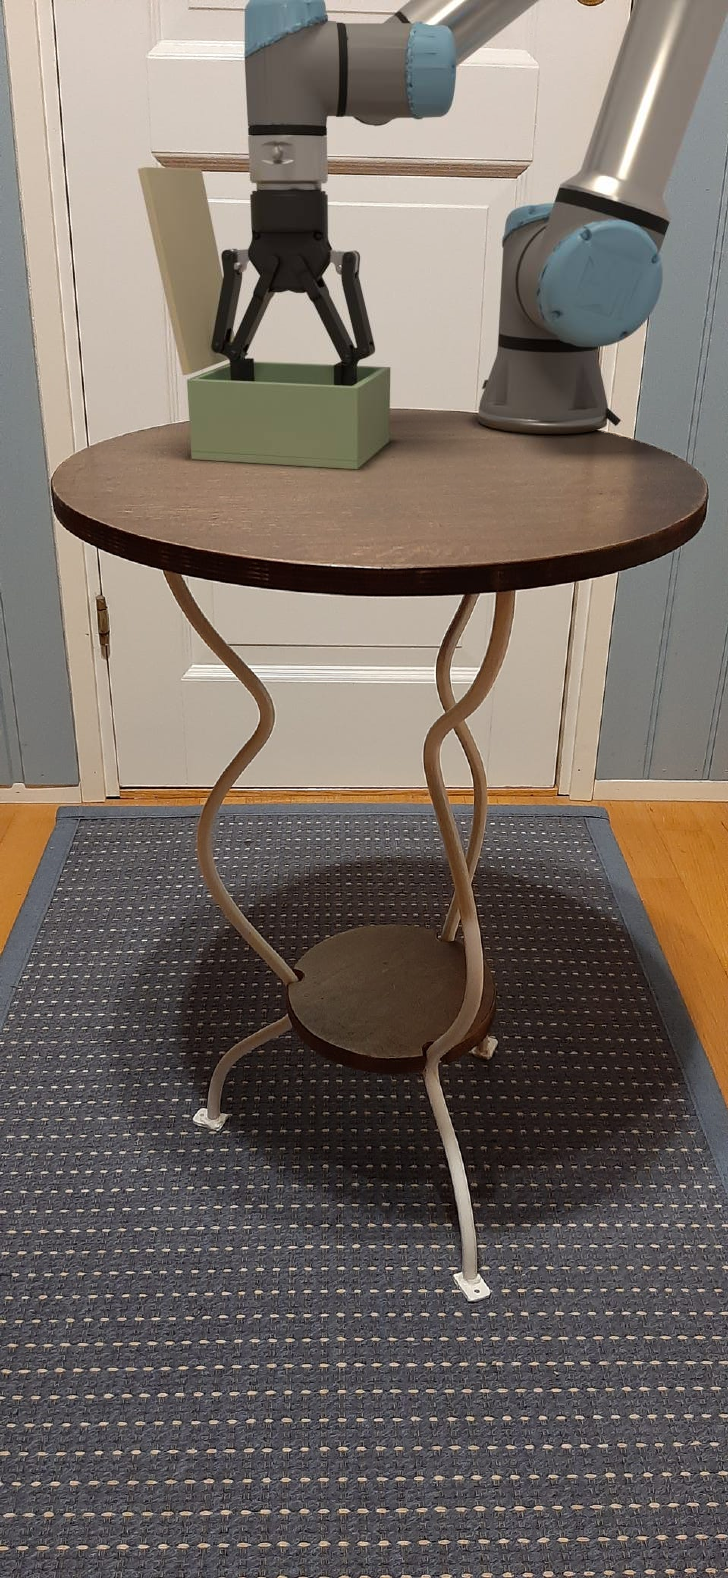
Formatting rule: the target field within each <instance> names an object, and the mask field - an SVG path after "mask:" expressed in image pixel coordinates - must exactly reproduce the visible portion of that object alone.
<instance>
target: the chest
mask: <svg viewBox="0 0 728 1578" xmlns="http://www.w3.org/2000/svg"><path fill="white" fill-rule="evenodd" d="M334 365H335V364H328V363H327V364H323V363H302V362H301V363H299V362H276V361H256V360H254V379H255V382H252V381H231V374H230V362H228V363H226V364H223V365H221V366H218V367H216V368H213V369H211V370H208V371H205V372H202V373H200V374H197V375H196V376H192V377H190V378H188V379H186V385H187V386H186V387H187V404H188V420H189V421H188V422H189V433H190V434H189V435H190V436H189V437H190V454H191V460H197V461H198V460H199V461H212V462H213V461H215V462H229V463H230V462H231V463H247V464H263V465H279V466H280V465H281V466H297V467H310V468H311V467H312V468H329V469H346V470H358V469H360V467H362V466H363V465H364V464H365V463H366V462H367V461H369V460H370V459H371V458H372V457H373V456H375V455H376V454H377V453H378V452H379V451H380V450H381V449H383V447H385V446H386V445H387V444H388V443H389V442H390V422H391V421H390V418H391V417H390V415H391V366H374V365H373V366H372V365H371V366H370V365H357V384H355V385H353V386H338V385H334Z"/></svg>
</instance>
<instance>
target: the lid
mask: <svg viewBox="0 0 728 1578" xmlns="http://www.w3.org/2000/svg"><path fill="white" fill-rule="evenodd" d="M137 172H138V177H139V181H140V182H139V183H140V186H141V190H142V195H143V200H144V205H145V208H146V213H147V217H148V223H149V227H150V231H151V236H152V241H153V246H154V250H155V255H156V259H157V264H158V268H159V273H160V278H161V282H162V286H163V291H164V295H165V301H166V306H167V310H168V314H169V319H170V323H171V328H172V333H173V337H174V341H175V346H176V350H177V351H176V352H177V355H178V360H179V364H180V369H181V373H182V376H187V375H191V374H194V373H198V372H200V371H202V370H205V369H207V368H210V367H212V366H215V365H218V364H220V363H222V362H225V361H229V359H228V358H227V357H226V356H225V355H222V354H220V353H215V352H213V350H212V348H211V344H212V338H213V332H214V327H215V321H216V315H217V310H218V304H219V299H220V293H221V287H222V282H223V276H224V275H223V270H222V265H221V260H220V256H219V251H218V245H217V241H216V235H215V231H214V226H213V220H212V215H211V211H210V210H211V209H210V205H209V201H208V195H207V190H206V185H205V181H204V175H203V170H202V168H187V167H185V168H183V167H159V166H158V167H155V166H142V167H138V168H137ZM234 337H235V331H234V330H233V332H232V337H231V342H233V340H234Z"/></svg>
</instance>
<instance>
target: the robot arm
mask: <svg viewBox="0 0 728 1578" xmlns="http://www.w3.org/2000/svg"><path fill="white" fill-rule="evenodd" d="M539 1H540V0H409V1H408V2H406V3H405V4H404V5H403V6H402V7H400V8H399V9H398V10H397V11H396V12H395V13H394V14H393V15H391V16H390V17H389V18H387V19H386V20H384V22H382V23H381V22H380V23H379V22H377V23H374V22H373V23H371V22H367V23H366V22H365V23H364V22H363V23H362V22H361V23H358V22H353V23H351V22H349V23H347V22H346V23H345V22H344V21H343V22H339V21H338V22H337V20H329V14H328V13H327V6H326V1H325V0H249V1H248V3H246V5H245V8H244V54H243V55H244V76H245V93H246V94H245V95H246V96H245V97H246V117H247V148H248V166H249V168H248V169H249V181H250V182H251V184H256V186H255V187H256V190H252V191H251V194H249V200H250V225H251V227H250V228H251V240H250V244H249V245H248V248H243V249H238V248H228V249H224V250H222V252H221V254H220V259H221V268H222V276H223V282H222V287H221V293H220V299H219V304H218V310H217V315H216V321H215V327H214V332H213V338H212V344H211V348H212V350H213V352H215V353H220V354H222V355H225V356H226V357H227V358H228V361H229V363H230V374H231V381H252V382H255V379H254V361H255V358H254V357H253V358H252V357H246V356H248V355H249V352H248V351H249V349H250V346H251V344H252V343H253V340H254V338H255V335H256V334H257V331H258V329H259V326H260V324H261V322H262V320H263V317H264V315H265V313H266V311H267V309H268V307H269V304H270V302H271V300H272V299H273V297H274V296H275V295H276V293H277V294H278V293H280V294H281V293H284V292H288V291H289V292H292V293H295V294H305V293H306V294H307V297H308V299H309V300H310V301H311V302H312V304H313V306H314V308H315V309H316V312H317V314H318V316H319V318H320V320H321V323H322V324H323V326H324V329H325V330H326V333H327V335H328V336H329V338H330V341H331V343H332V345H333V346H334V349H335V351H336V353H337V356H338V357H339V359H340V361H339V362H337V363H335V364H333V365H334V385H338V386H353V385H355V384H357V366H358V364H359V363H360V361H361V360H364V359H367V358H369V357H370V356H372V355H374V354H375V353H376V345H375V342H374V337H373V331H372V327H371V323H370V320H369V315H368V311H367V306H366V302H365V297H364V293H363V288H362V283H361V280H360V265H361V255H360V252H359V251H357V250H350V251H343V250H335V249H333V248H332V245H331V243H330V241H329V195H328V194H326V190H322V184H327V183H328V181H329V179H328V178H329V177H328V171H329V170H328V138H327V137H328V127H327V124H328V123H327V122H328V118H329V117H335V118H344V117H348V118H349V117H352V118H353V119H355V120H356V121H358V122H360V123H361V124H363V125H367V126H374V127H381V126H385V125H386V124H388V123H390V122H391V121H393V120H396V119H413V120H423V119H426V118H427V119H428V118H442V117H444V116H446V115H447V114H448V113H449V112H450V109H451V108H452V105H453V101H454V96H455V90H456V83H457V82H456V79H457V67H458V66H460V65H461V64H462V63H463V62H464V61H466V60H467V59H468V58H470V57H471V56H472V55H473V54H475V53H476V52H478V50H479V49H480V48H483V46H484V45H486V43H488V42H489V41H491V40H492V39H493V38H494V37H495V36H497V35H498V34H500V32H501V31H503V30H504V29H505V28H507V27H508V26H509V25H511V24H512V23H513V22H514V21H515V20H517V19H518V18H519V17H520V16H521V15H523V14H524V13H525V12H527V11H528V10H529V9H530V8H531V7H533V6H534V5H535V4H536V3H538V2H539ZM727 17H728V0H635V1H634V4H633V6H632V9H631V13H630V15H629V18H628V21H627V25H626V29H625V30H624V34H623V37H622V40H621V43H620V47H619V49H618V53H617V56H616V59H615V62H614V65H613V68H612V72H611V75H610V78H609V80H608V84H607V87H606V90H605V93H604V96H603V99H602V102H601V106H600V108H599V112H598V115H597V118H596V121H595V125H594V127H593V130H592V132H591V133H592V134H591V137H590V140H589V142H588V146H587V149H586V152H585V155H584V157H583V158H584V159H583V161H582V165H581V168H580V169H579V171H578V172H577V173H576V174H575V175H573V176H571V177H570V178H568V179H567V180H565V181H563V182H562V183H560V184H559V187H558V189H557V193H556V196H555V199H554V202H547V203H539V204H529V205H523V206H520V207H517V208H515V209H513V210H511V211H510V212H509V214H508V215H507V217H506V219H505V225H504V233H503V236H502V239H501V247H502V262H501V263H502V264H501V279H500V280H501V281H500V298H499V299H500V300H499V315H498V317H499V318H498V333H497V334H498V336H497V350H496V355H495V359H494V362H493V364H492V367H491V370H490V373H489V376H488V378H487V379H484V382H483V384H482V388H481V390H483V391H482V395H481V397H480V401H479V406H478V417H477V421H478V422H479V423H480V424H481V425H483V426H486V427H489V428H492V429H496V430H502V431H507V432H513V433H525V434H540V435H541V434H543V435H545V434H546V435H563V434H564V435H565V434H567V435H568V434H569V435H570V434H581V433H589V432H594V431H597V430H601V429H603V428H605V427H607V425H608V421H609V422H610V423H612V425H614V427H617V426H618V425H619V424H620V423H621V421H622V419H621V418H620V417H618V416H617V414H615V413H614V412H613V411H612V410H611V409H610V408H609V405H608V400H607V393H606V389H605V386H604V385H605V384H604V380H603V376H602V371H601V365H600V361H599V349H600V347H607V346H611V345H615V344H617V343H619V342H621V341H623V340H625V339H627V338H628V337H630V336H632V335H633V334H634V333H635V332H637V331H638V330H639V329H640V328H641V327H642V326H643V324H644V323H645V322H646V321H647V320H648V319H649V317H650V316H651V314H652V313H653V311H654V309H655V307H656V306H657V303H658V301H659V298H660V295H661V294H660V293H661V290H662V286H663V278H664V277H663V274H664V273H663V272H664V271H663V270H664V269H663V263H662V260H661V255H660V251H661V249H662V246H663V243H664V240H665V238H666V234H667V231H668V229H669V226H670V223H671V220H672V219H671V215H670V212H669V210H668V208H667V206H666V205H667V204H666V202H665V198H664V196H665V195H664V194H665V191H666V189H667V186H668V183H669V181H670V177H671V175H672V172H673V169H674V166H675V163H676V161H677V157H678V155H679V152H680V150H681V146H682V144H683V141H684V138H685V135H686V132H687V130H688V127H689V124H690V121H691V118H692V115H693V113H694V110H695V107H696V104H697V101H698V99H699V95H700V92H701V90H702V88H703V84H704V82H705V78H706V75H707V73H708V70H709V68H710V64H711V62H712V59H713V56H714V53H715V52H716V51H715V50H716V48H717V45H718V43H719V39H720V36H721V33H722V30H723V28H724V25H725V22H726V20H727ZM249 262H250V263H251V265H252V266H253V268H254V269H255V271H256V272H257V273H258V275H259V277H258V280H257V282H256V284H255V287H254V288H253V292H252V297H251V299H250V301H249V303H248V305H247V308H246V310H245V313H244V315H243V317H242V319H241V320H240V321H241V322H240V323H239V326H238V328H237V331H236V333H235V334H234V336H235V337H234V340H233V342H231V337H232V332H233V331H234V327H235V321H236V315H237V310H238V303H239V299H240V293H241V288H242V283H243V273H244V272H245V271H247V269H248V263H249ZM331 263H332V264H333V265H334V267H335V271H336V273H337V274H338V275H340V279H341V286H342V290H343V294H344V298H345V302H346V307H347V311H348V316H349V319H350V323H351V328H352V332H353V336H354V341H355V345H354V343H353V340H352V338H351V336H350V334H349V332H348V330H347V327H346V326H345V324H344V322H343V320H342V318H341V316H340V314H339V311H338V310H337V308H336V307H337V306H336V305H335V303H334V301H333V300H332V296H331V295H330V290H329V288H328V285H327V284H326V281H325V280H324V277H323V275H324V274H325V272H326V271H327V269H328V268H329V266H330V264H331ZM355 346H356V347H355Z"/></svg>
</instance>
